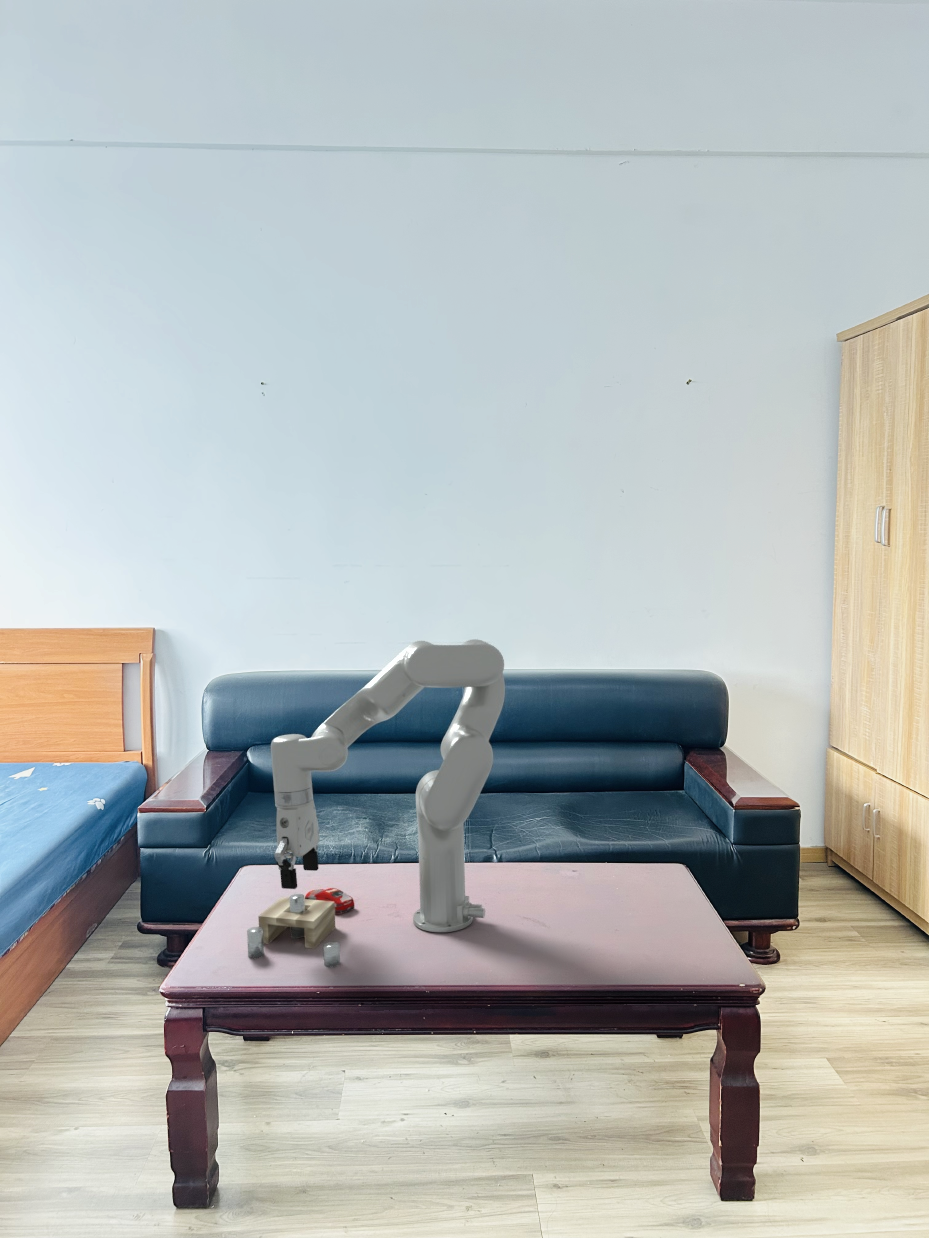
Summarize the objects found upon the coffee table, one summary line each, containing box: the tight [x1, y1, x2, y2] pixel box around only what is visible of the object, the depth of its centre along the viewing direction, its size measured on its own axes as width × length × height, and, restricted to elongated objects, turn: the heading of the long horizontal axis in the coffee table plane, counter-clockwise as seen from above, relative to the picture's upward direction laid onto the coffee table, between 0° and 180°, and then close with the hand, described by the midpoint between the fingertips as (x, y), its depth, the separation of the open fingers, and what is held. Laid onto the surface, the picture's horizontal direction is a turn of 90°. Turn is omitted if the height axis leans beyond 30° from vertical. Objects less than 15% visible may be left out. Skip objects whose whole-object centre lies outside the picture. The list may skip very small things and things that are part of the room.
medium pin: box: [246, 926, 265, 960], centre depth 168 cm, size 3×3×5 cm
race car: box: [304, 887, 355, 915], centre depth 191 cm, size 13×5×4 cm, turn 49°
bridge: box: [258, 896, 336, 949], centre depth 176 cm, size 12×10×6 cm
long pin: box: [288, 893, 305, 939], centre depth 176 cm, size 3×3×8 cm
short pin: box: [323, 941, 341, 968], centre depth 164 cm, size 3×3×4 cm
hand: (300, 878), depth 176 cm, fingers open, 9 cm apart
